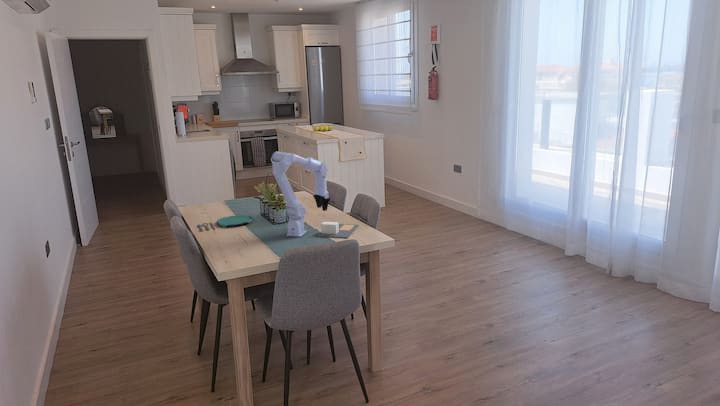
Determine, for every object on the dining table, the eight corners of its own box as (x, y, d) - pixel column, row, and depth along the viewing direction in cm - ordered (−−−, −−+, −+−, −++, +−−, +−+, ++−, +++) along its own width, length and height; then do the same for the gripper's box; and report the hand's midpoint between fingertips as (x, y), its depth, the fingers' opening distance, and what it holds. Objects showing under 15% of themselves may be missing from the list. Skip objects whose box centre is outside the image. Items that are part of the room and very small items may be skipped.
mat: (347, 238, 247) (347, 237, 247) (317, 236, 252) (317, 235, 251) (358, 225, 268) (358, 224, 268) (330, 224, 272) (330, 223, 272)
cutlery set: (256, 224, 276) (256, 220, 275) (201, 234, 263) (200, 229, 263) (248, 216, 293) (247, 212, 293) (195, 225, 281) (195, 221, 280)
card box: (336, 234, 253) (335, 224, 251) (321, 233, 255) (321, 224, 253) (338, 231, 257) (338, 222, 256) (324, 230, 259) (323, 221, 258)
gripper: (333, 185, 259) (334, 210, 262) (322, 181, 271) (323, 205, 275) (321, 187, 256) (322, 212, 259) (310, 182, 268) (311, 206, 272)
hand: (322, 209), depth 267 cm, fingers open, 7 cm apart
